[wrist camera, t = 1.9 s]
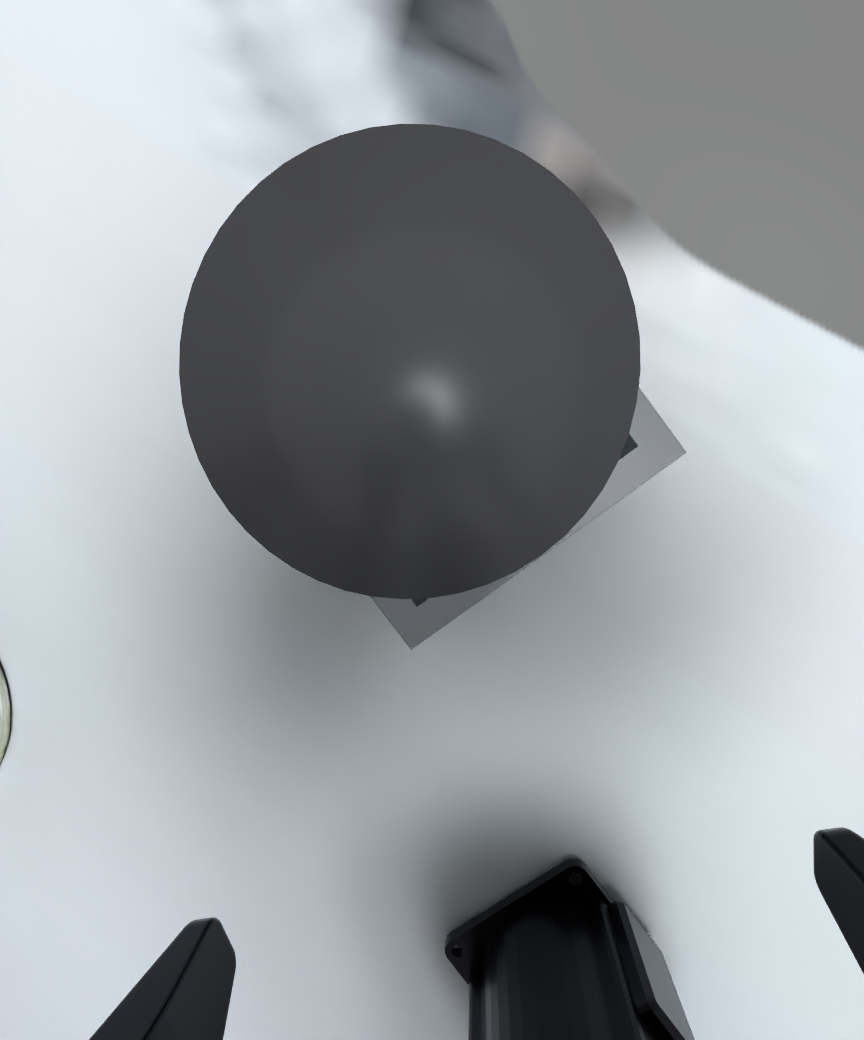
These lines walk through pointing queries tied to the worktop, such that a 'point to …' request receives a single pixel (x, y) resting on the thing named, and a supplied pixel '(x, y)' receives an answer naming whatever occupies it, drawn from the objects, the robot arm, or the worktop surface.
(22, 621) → the worktop surface
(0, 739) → the coffee can
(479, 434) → the blue-grey upright cylinder
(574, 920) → the robot arm
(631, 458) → the cartridge housing
